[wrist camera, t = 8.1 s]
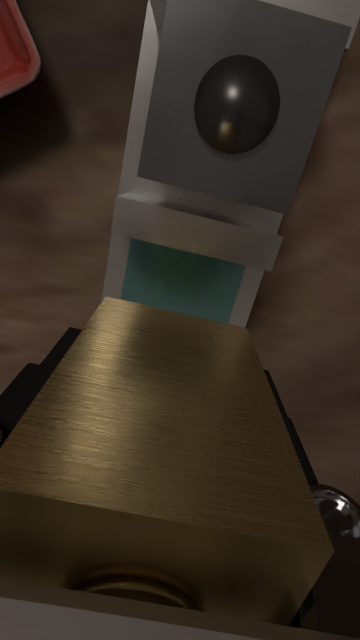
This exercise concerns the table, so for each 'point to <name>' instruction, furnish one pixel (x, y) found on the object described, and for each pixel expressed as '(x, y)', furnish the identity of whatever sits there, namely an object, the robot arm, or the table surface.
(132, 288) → the rail
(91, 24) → the table surface
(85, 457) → the yellow tall block
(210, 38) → the dark knobbed cube
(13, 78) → the plant saucer
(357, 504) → the robot arm
